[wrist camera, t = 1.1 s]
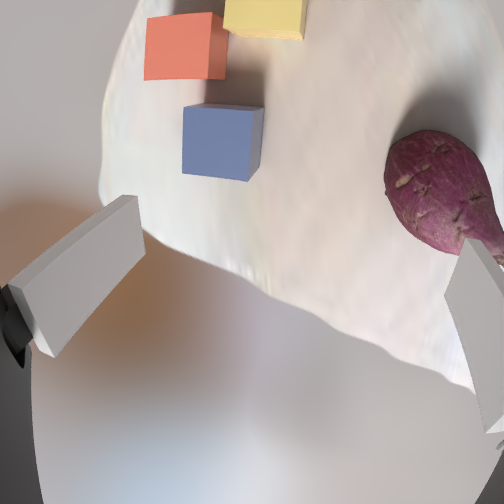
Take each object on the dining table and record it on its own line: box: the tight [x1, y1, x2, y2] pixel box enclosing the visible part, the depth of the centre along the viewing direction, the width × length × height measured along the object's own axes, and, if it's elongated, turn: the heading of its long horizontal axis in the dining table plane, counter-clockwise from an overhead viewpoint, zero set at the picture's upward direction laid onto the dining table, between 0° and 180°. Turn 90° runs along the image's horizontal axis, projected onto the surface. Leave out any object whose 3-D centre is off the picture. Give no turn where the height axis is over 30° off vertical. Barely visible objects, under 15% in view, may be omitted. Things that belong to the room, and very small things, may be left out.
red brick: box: [144, 12, 229, 81], centre depth 24 cm, size 6×6×5 cm
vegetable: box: [384, 130, 504, 267], centre depth 22 cm, size 10×10×15 cm
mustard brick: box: [223, 0, 307, 41], centre depth 20 cm, size 6×6×5 cm
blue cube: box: [182, 103, 265, 182], centre depth 27 cm, size 6×6×5 cm
